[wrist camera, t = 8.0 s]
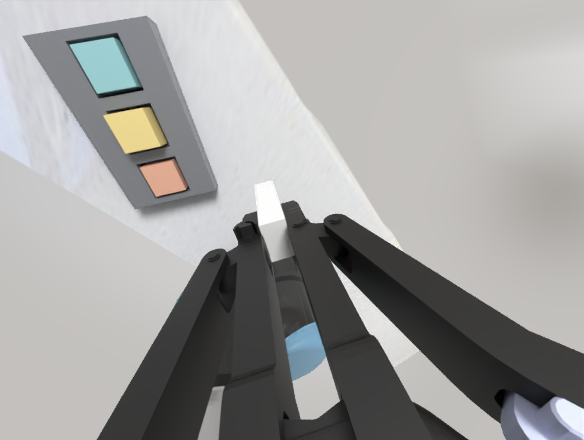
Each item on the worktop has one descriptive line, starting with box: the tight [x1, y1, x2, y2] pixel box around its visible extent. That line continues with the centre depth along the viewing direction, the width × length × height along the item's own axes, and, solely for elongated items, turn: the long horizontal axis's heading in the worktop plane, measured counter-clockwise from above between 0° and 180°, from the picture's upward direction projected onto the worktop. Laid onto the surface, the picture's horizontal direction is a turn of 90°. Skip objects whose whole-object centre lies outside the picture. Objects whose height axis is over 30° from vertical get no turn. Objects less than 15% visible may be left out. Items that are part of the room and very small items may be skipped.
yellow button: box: [103, 107, 167, 154], centre depth 30 cm, size 5×5×3 cm
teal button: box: [70, 37, 143, 94], centre depth 27 cm, size 5×5×3 cm
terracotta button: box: [140, 157, 188, 197], centre depth 35 cm, size 5×5×3 cm
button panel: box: [23, 16, 218, 209], centre depth 31 cm, size 23×14×3 cm, turn 10°
